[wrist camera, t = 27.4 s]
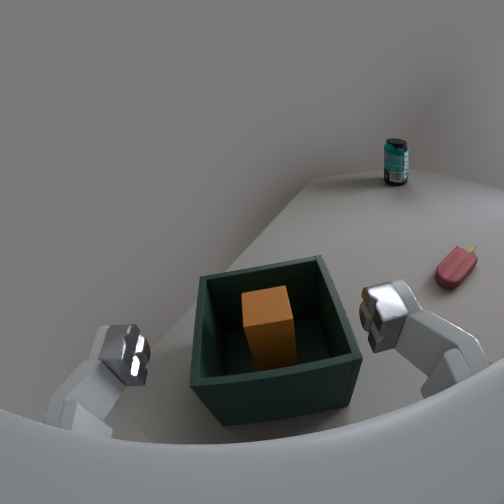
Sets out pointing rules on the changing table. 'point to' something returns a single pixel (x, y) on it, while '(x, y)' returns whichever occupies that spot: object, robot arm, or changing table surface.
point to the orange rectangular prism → (269, 328)
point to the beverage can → (396, 162)
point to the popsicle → (456, 267)
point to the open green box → (282, 379)
